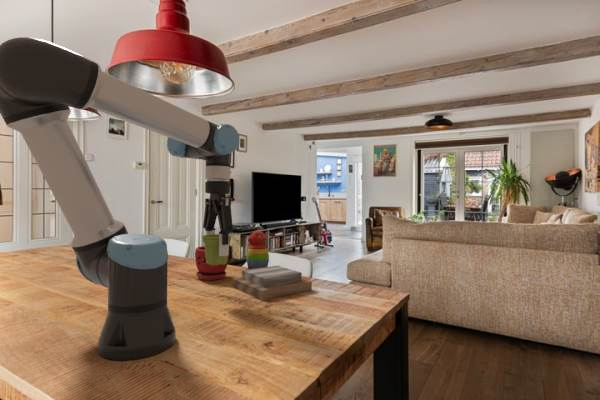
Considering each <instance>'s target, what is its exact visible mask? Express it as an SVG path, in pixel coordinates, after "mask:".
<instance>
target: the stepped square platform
mask: <svg viewBox="0 0 600 400" xmlns="http://www.w3.org/2000/svg"><path fill="white" fill-rule="evenodd" d="M302 277H303V276H302V272H301V271H297V270H294V269H291V268H287V267H284V266H281V265H271V266H268V267H264V268H257V269H249V270H246V269H243V270H242V271H241V276H239V277H236V278H235V277H233V278H232V288H234V289H236V290H238V291H240V292H242V293H245V294H247V295H249V296H251V297H253V298H256V299H257V300H260V301H267V300H270V299H275V298H279V297H285V296H290V295H295V294H296V295H297V294H299V293H301V294H302V293H305V292H309V291H312V283H313V282H312V281H311V280H308V279H304V278H302Z"/></svg>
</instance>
